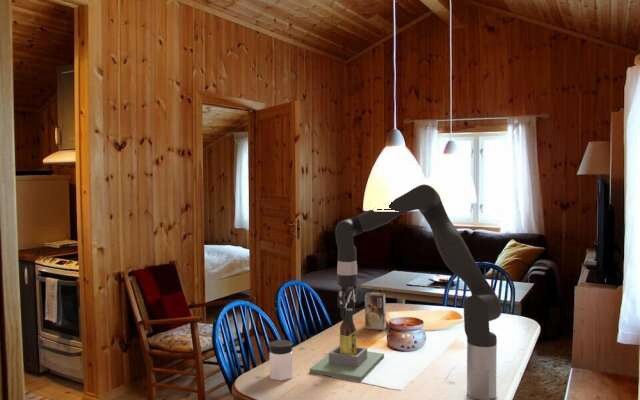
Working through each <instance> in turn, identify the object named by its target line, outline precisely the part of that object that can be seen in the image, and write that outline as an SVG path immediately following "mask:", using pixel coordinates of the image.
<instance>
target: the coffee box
mask: <svg viewBox="0 0 640 400" xmlns="http://www.w3.org/2000/svg"><path fill="white" fill-rule="evenodd" d="M386 311H387V309H386V292H368V291H367V292H366V293H365V295H364V320H365V326H364V327H365V329H367V330H381V331H385V329H386V328H387V318H386V317H387V316H386V315H387V312H386Z"/></svg>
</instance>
